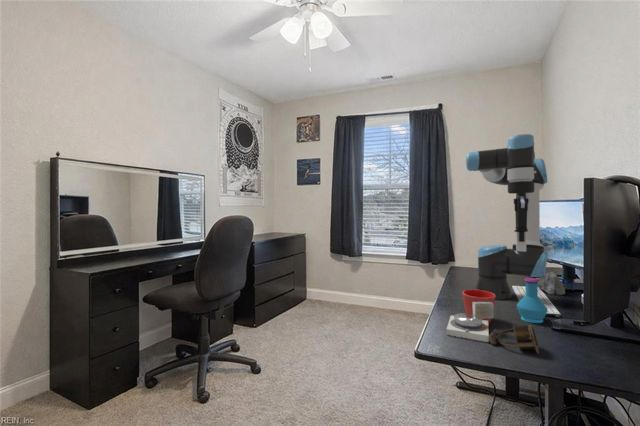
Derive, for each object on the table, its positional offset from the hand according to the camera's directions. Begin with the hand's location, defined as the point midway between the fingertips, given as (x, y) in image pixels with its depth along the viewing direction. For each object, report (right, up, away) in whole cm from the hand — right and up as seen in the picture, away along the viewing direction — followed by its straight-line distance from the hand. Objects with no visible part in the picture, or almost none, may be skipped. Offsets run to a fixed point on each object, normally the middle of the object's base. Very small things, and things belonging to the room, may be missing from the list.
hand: (521, 251), depth 102 cm
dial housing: (-18, -27, -1) cm, 32 cm away
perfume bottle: (+9, -26, +8) cm, 29 cm away
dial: (-17, -24, -1) cm, 29 cm away
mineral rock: (+43, -25, +43) cm, 66 cm away
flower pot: (-9, -27, +9) cm, 30 cm away
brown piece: (-10, -27, -12) cm, 31 cm away
